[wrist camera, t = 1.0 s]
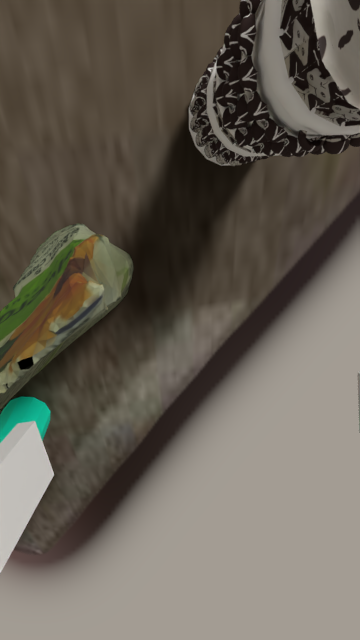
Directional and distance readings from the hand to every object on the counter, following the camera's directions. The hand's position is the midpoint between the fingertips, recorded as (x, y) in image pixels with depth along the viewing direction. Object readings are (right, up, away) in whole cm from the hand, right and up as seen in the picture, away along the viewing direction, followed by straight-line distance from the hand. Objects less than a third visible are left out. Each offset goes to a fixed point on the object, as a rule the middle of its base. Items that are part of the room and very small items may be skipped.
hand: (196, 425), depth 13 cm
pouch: (-11, +10, +22) cm, 27 cm away
